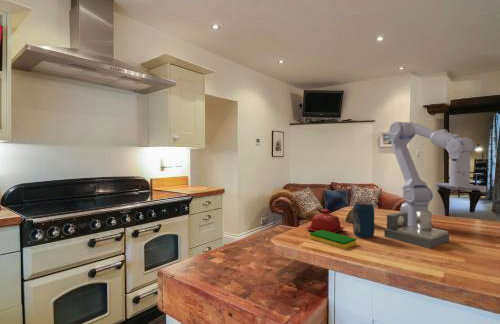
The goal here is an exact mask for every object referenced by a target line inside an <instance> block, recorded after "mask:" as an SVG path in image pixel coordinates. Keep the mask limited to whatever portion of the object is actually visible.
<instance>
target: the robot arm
mask: <svg viewBox="0 0 500 324" xmlns="http://www.w3.org/2000/svg"><path fill="white" fill-rule="evenodd" d="M388 134H389V137H390V139H391V140H390V141H391V147H392V151H393V153H394V155H395V158H396V161H397V163H398V167H399V168H400V171H401V173H402V174H401V175H402V177H403V179H404V184H403V186H402V187H401V189H402V192H403V193H402V196H403V199H404V202H402V204H401V206H400V212H406V213H408V225H413V224H416V225H417V222H416V211H429V205H430V202H431V201H432V200H433V198H434V192H433V190H432V189H431V188H430V187H429V186H428V184H427V183H426V181H424V180H422V179H421V177H420V175H419V172H418V170H417V168H416V166H415V163H414V161H413V157H412V155H411V153H410V151H409V148H408V144H409V143H410V142H411V141H412V139H413V138H414V137H416V135H418V136H421V137H423V138H427V139H430V142H431V143H432V144H433V145H435V146H437V147H440V148H443V149H444V150H446V151H447V152H448V157H449V182H435V189H437V193H438V194H439V196H440V198H441V201H442V204H443V208H444V209H445V210H448V209H450V196H451V191H452V190H459V191H467V192H468V197H469V208H468V209H469V213H472V214H473V213H475V211H476V207H477V205H478V203H479V201H480V199H481V197H482V196H483V195H484V193H487V186H486V185H477V184H476V185H475V184H470V183H471V153H472V152H473V151H474V150H475V147H476V146H475V142H474V140H473V139H471V138H470V137H468V136H467V137H460V134H456V133H455V134H453V133H450V132H448V129H443V128H442V129H438V130H433V129H432V128H429V127H426V126H424V125H422V124H420V123H418V122H413V121H409V122H407V121H406V122H405V121H393V122H392V123H391V125H390V127H389V129H388Z"/></svg>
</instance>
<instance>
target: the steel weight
mask: <svg viewBox="0 0 500 324" xmlns="http://www.w3.org/2000/svg"><path fill="white" fill-rule="evenodd" d="M416 222H417V229H418V230H421V231H431V230H432V228H433V227H432V226H433V222H432V211H429V210H428V211H416Z"/></svg>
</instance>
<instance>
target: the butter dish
mask: <svg viewBox="0 0 500 324" xmlns="http://www.w3.org/2000/svg"><path fill="white" fill-rule="evenodd" d="M329 211H330V210H329V209H327V208H324V209H322V210H321V212H322V213H318V214H315V215H313V216H312V218H311V223H310V225H309V226H308V227H306V230H308V231H312V232H316V231H320V230H325V231H329V232H332V233H338V232H340V231H343V230H345V227H344V226H341V221H340V218H339V217H338V216H337V215H335V214H332V213H329Z"/></svg>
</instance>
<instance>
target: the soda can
mask: <svg viewBox="0 0 500 324" xmlns="http://www.w3.org/2000/svg"><path fill="white" fill-rule="evenodd" d="M353 207H354V217H353V223H352V224H353V228H352V229H353V230H352V231H353V234H354V236H356V238H360V239H372V238H373V237H374V235H375V224H374V223H375V207H374V205H373V202H370V201H363V202H360V201H356V202H355V204H354V206H353Z"/></svg>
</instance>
